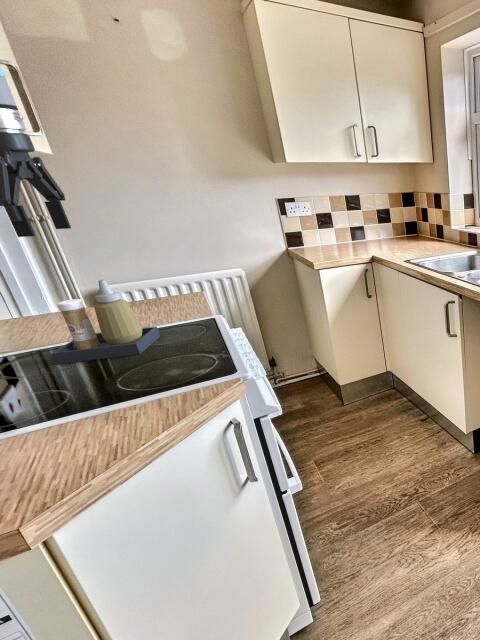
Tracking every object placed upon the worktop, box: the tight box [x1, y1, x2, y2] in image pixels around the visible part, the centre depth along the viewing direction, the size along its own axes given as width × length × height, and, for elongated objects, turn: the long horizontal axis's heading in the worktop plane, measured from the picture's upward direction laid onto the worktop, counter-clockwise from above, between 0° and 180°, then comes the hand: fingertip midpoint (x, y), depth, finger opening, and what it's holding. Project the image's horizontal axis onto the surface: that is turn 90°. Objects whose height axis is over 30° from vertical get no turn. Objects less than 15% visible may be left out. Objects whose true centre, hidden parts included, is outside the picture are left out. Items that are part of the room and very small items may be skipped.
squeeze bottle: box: [93, 279, 143, 346], centre depth 109 cm, size 8×8×18 cm
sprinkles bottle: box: [56, 298, 101, 350], centre depth 108 cm, size 5×5×14 cm
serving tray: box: [50, 326, 161, 365], centre depth 111 cm, size 17×13×3 cm
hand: (46, 232), depth 99 cm, fingers open, 13 cm apart
